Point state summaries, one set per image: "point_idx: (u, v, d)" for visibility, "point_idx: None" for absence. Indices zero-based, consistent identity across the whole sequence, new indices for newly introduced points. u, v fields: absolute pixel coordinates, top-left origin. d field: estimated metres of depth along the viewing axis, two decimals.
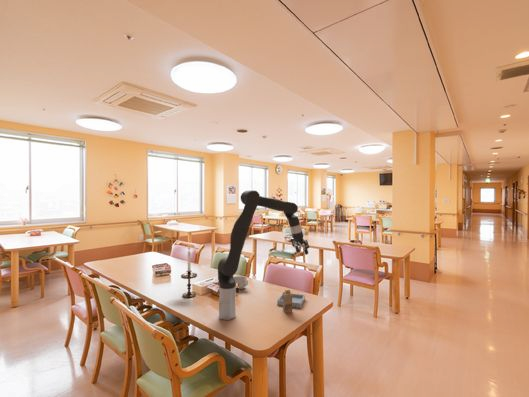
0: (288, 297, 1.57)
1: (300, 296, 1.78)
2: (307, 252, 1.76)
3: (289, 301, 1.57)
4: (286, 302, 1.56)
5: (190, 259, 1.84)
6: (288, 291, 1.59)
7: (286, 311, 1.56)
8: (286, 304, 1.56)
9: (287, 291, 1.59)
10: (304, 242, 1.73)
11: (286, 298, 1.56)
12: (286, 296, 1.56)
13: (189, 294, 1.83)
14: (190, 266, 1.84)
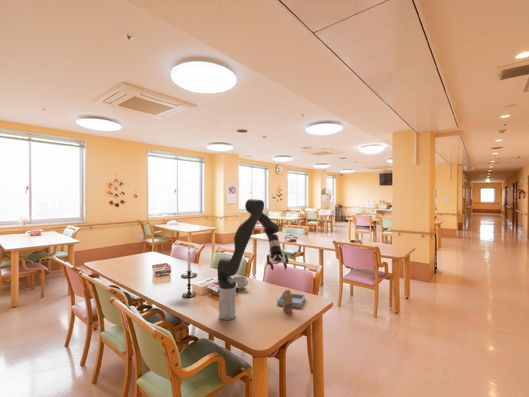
0: (288, 297, 1.57)
1: (300, 296, 1.78)
2: None
3: (289, 301, 1.57)
4: (286, 302, 1.56)
5: (190, 259, 1.84)
6: (288, 291, 1.59)
7: (286, 311, 1.56)
8: (286, 304, 1.56)
9: (287, 291, 1.59)
10: (286, 255, 1.79)
11: (286, 298, 1.56)
12: (286, 296, 1.56)
13: (189, 294, 1.83)
14: (190, 266, 1.84)
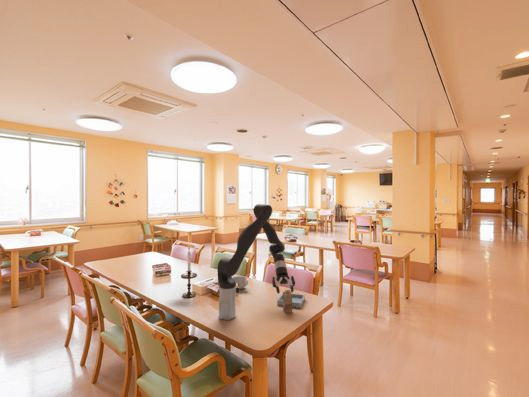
0: (288, 297, 1.57)
1: (300, 296, 1.78)
2: None
3: (289, 301, 1.57)
4: (286, 302, 1.56)
5: (190, 259, 1.84)
6: (288, 291, 1.59)
7: (286, 311, 1.56)
8: (286, 304, 1.56)
9: (287, 291, 1.59)
10: (292, 277, 1.70)
11: (286, 298, 1.56)
12: (286, 296, 1.56)
13: (189, 294, 1.83)
14: (190, 266, 1.84)
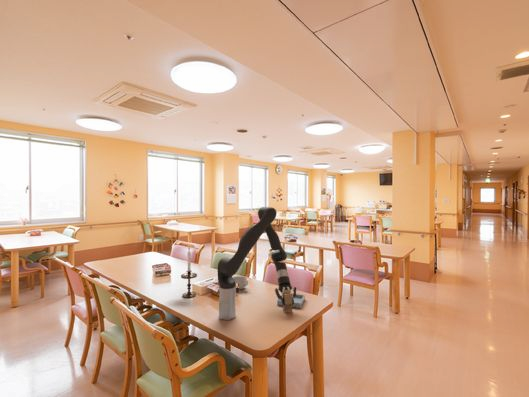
0: (288, 297, 1.57)
1: (300, 296, 1.78)
2: None
3: (289, 301, 1.57)
4: (286, 302, 1.56)
5: (190, 259, 1.84)
6: (288, 291, 1.59)
7: (286, 311, 1.56)
8: (286, 304, 1.56)
9: (287, 291, 1.59)
10: (295, 288, 1.63)
11: (286, 298, 1.56)
12: (286, 296, 1.56)
13: (189, 294, 1.83)
14: (190, 266, 1.84)
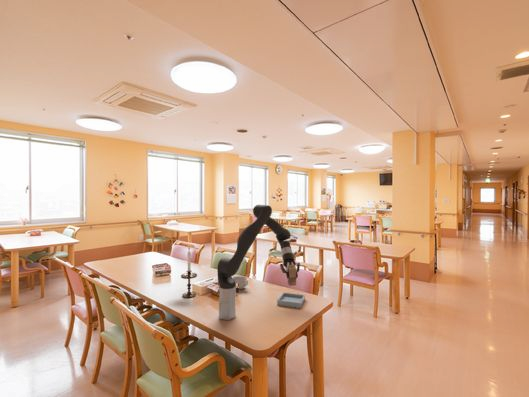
0: (292, 271, 1.70)
1: (300, 296, 1.78)
2: None
3: (293, 274, 1.70)
4: (290, 275, 1.70)
5: (190, 259, 1.84)
6: (292, 266, 1.72)
7: (290, 284, 1.70)
8: (290, 277, 1.70)
9: (291, 266, 1.72)
10: (299, 264, 1.77)
11: (290, 272, 1.70)
12: (290, 270, 1.70)
13: (189, 294, 1.83)
14: (190, 266, 1.84)
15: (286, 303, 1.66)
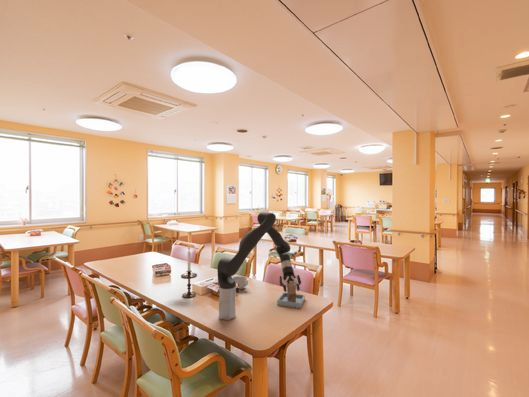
0: (292, 287, 1.71)
1: (300, 296, 1.78)
2: (299, 288, 1.73)
3: (293, 291, 1.71)
4: (290, 292, 1.70)
5: (190, 259, 1.84)
6: (292, 282, 1.73)
7: (290, 300, 1.70)
8: (290, 293, 1.70)
9: (291, 282, 1.73)
10: (298, 276, 1.78)
11: (290, 288, 1.70)
12: (290, 286, 1.70)
13: (189, 294, 1.83)
14: (190, 266, 1.84)
15: (286, 303, 1.66)
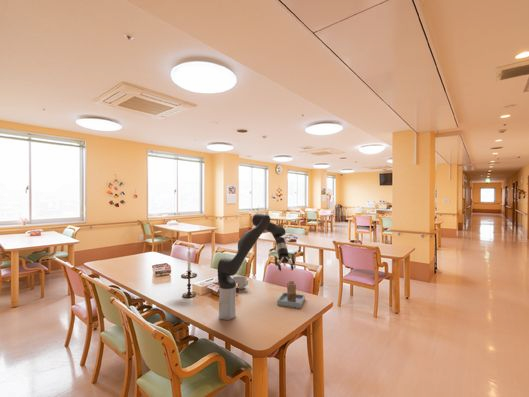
0: (292, 287, 1.71)
1: (300, 296, 1.78)
2: None
3: (293, 291, 1.71)
4: (290, 292, 1.70)
5: (190, 259, 1.84)
6: (292, 282, 1.73)
7: (290, 300, 1.70)
8: (290, 293, 1.70)
9: (291, 282, 1.73)
10: (293, 257, 1.91)
11: (290, 288, 1.70)
12: (290, 286, 1.70)
13: (189, 294, 1.83)
14: (190, 266, 1.84)
15: (286, 303, 1.66)
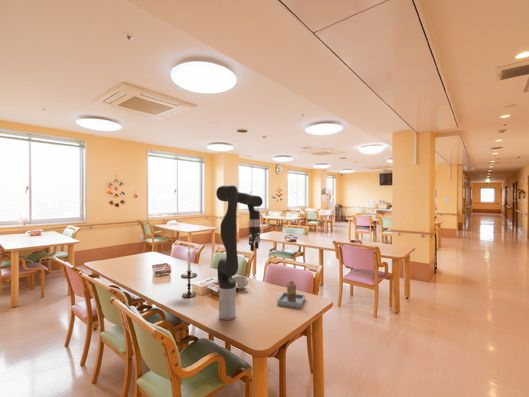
0: (292, 287, 1.71)
1: (300, 296, 1.78)
2: None
3: (293, 291, 1.71)
4: (290, 292, 1.70)
5: (190, 259, 1.84)
6: (292, 282, 1.73)
7: (290, 300, 1.70)
8: (290, 293, 1.70)
9: (291, 282, 1.73)
10: (259, 234, 1.84)
11: (290, 288, 1.70)
12: (290, 286, 1.70)
13: (189, 294, 1.83)
14: (190, 266, 1.84)
15: (286, 303, 1.66)
